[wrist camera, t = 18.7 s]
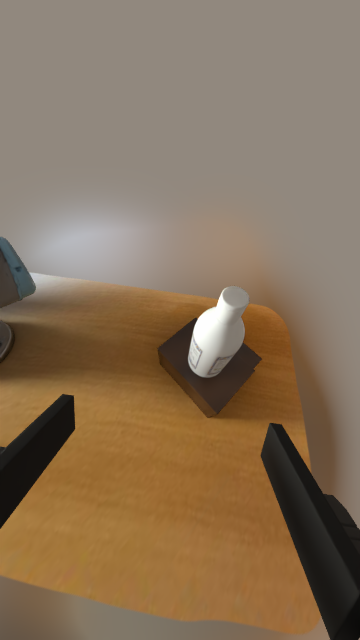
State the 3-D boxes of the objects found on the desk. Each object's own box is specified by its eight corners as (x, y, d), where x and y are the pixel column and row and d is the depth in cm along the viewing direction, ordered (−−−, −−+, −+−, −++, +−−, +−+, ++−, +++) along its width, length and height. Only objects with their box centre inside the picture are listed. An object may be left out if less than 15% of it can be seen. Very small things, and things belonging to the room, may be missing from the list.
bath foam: (228, 352, 37) (276, 285, 20) (216, 385, 34) (261, 337, 16) (196, 338, 38) (215, 263, 21) (181, 368, 35) (190, 308, 18)
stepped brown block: (160, 363, 45) (157, 348, 37) (206, 323, 52) (213, 302, 43) (207, 417, 40) (217, 414, 31) (253, 365, 46) (272, 350, 37)
